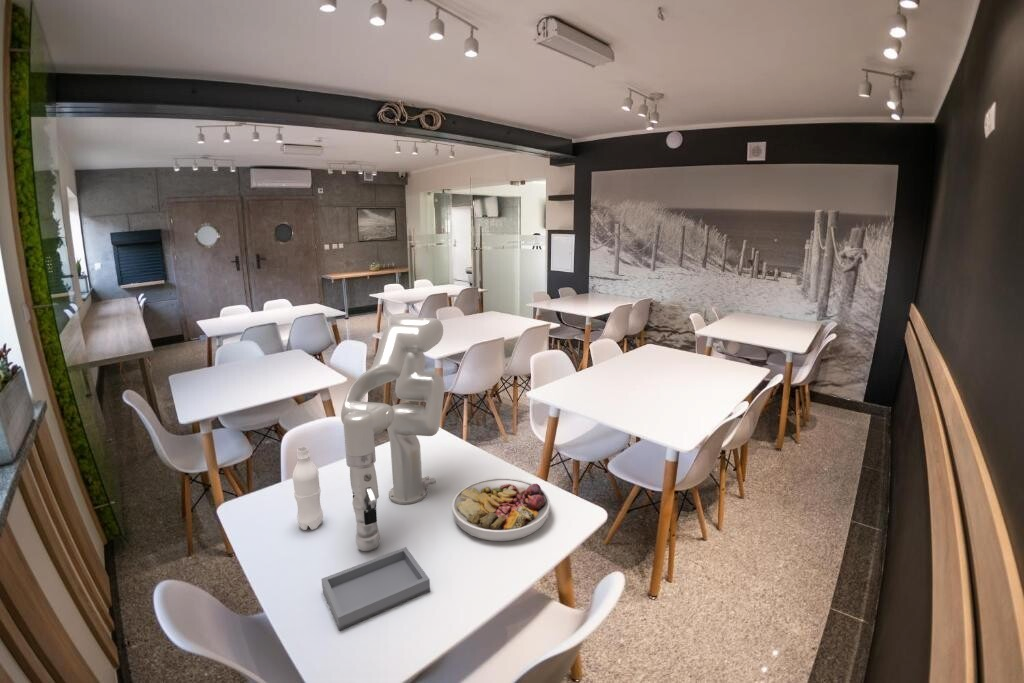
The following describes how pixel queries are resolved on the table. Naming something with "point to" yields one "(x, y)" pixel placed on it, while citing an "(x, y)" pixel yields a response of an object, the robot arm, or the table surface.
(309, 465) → the water bottle
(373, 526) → the plastic bottle
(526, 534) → the bowl
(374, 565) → the tray
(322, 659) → the table surface
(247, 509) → the table surface
